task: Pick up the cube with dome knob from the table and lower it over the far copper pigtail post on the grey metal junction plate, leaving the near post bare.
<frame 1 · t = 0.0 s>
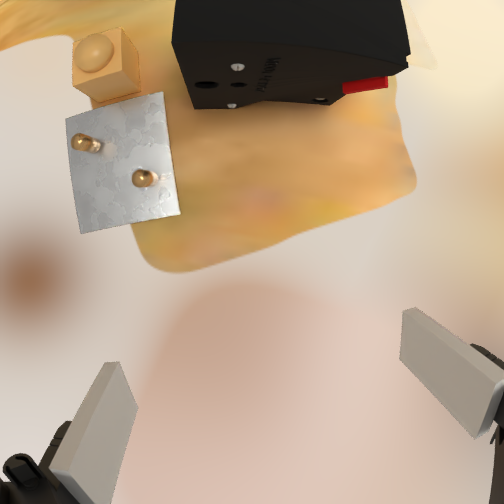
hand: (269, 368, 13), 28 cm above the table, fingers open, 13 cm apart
cube with dome knob: (118, 77, 34), on the table
junction plate: (119, 162, 36), on the table
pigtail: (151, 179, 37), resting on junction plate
electrical component: (263, 78, 36), on the table
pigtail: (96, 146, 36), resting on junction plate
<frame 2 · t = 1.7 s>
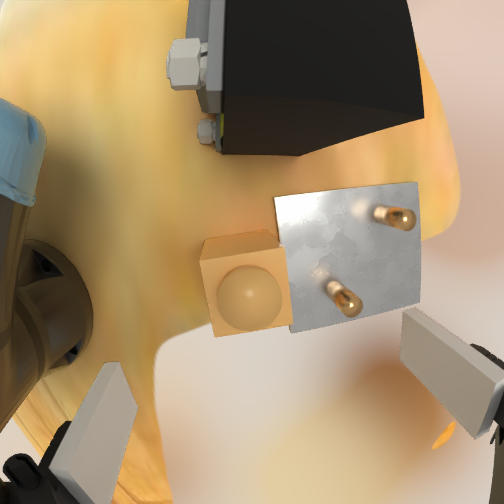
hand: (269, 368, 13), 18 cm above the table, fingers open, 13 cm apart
cube with dome knob: (240, 264, 31), on the table
junction plate: (356, 254, 32), on the table
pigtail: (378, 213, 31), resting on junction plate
electrical component: (253, 70, 27), on the table
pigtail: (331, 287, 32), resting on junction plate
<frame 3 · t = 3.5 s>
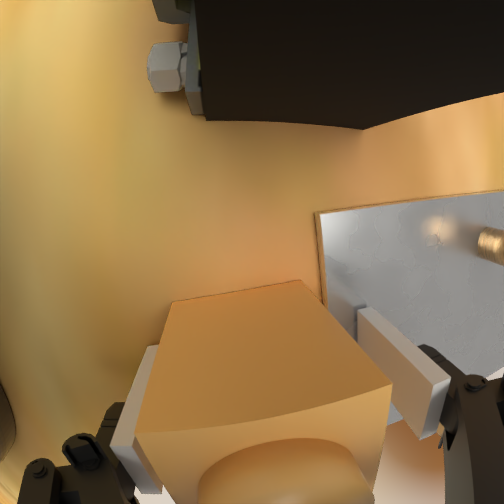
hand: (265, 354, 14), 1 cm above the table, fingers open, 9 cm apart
cube with dome knob: (246, 347, 15), on the table
junction plate: (443, 312, 16), on the table
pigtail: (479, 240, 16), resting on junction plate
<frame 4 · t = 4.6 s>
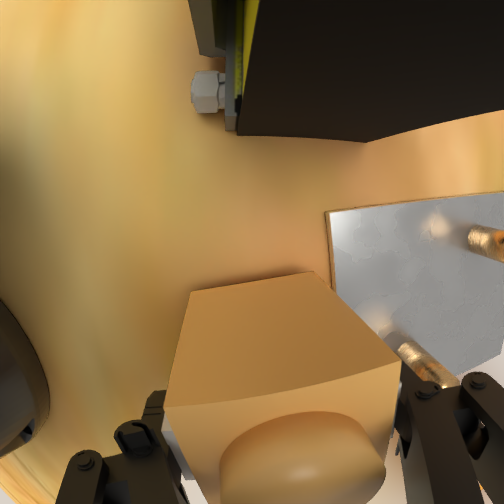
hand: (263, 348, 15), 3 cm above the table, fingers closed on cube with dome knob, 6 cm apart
cube with dome knob: (261, 336, 16), point 2 cm above the table, touching gripper
junction plate: (438, 299, 19), on the table
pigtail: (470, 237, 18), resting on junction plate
electrical component: (286, 7, 14), on the table
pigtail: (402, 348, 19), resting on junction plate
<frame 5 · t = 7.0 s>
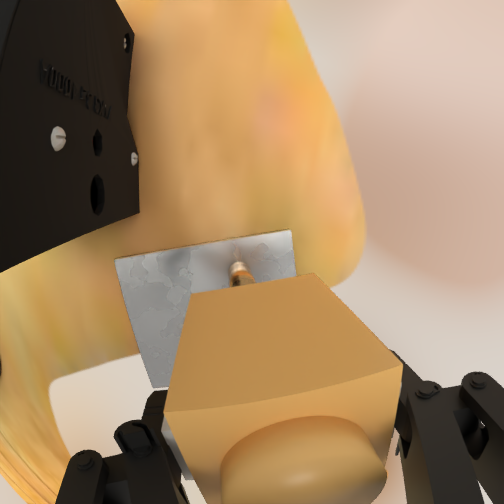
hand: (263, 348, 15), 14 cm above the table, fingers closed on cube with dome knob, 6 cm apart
cube with dome knob: (261, 338, 16), point 13 cm above the table, touching gripper
junction plate: (214, 315, 29), on the table
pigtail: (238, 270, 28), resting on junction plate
electrical component: (96, 121, 24), on the table
when the fingers open (2 cm above the table, at t = 9.2 s): cube with dome knob stays where it is, resting on junction plate.
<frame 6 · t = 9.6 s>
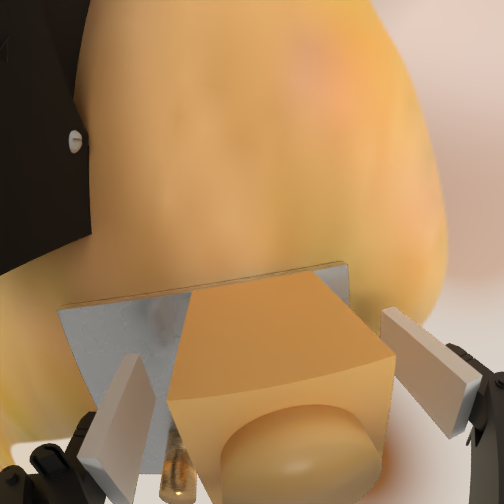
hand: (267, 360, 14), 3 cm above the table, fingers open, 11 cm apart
cube with dome knob: (260, 334, 16), point 1 cm above the table, touching junction plate
junction plate: (218, 393, 18), on the table
electrical component: (32, 89, 13), on the table
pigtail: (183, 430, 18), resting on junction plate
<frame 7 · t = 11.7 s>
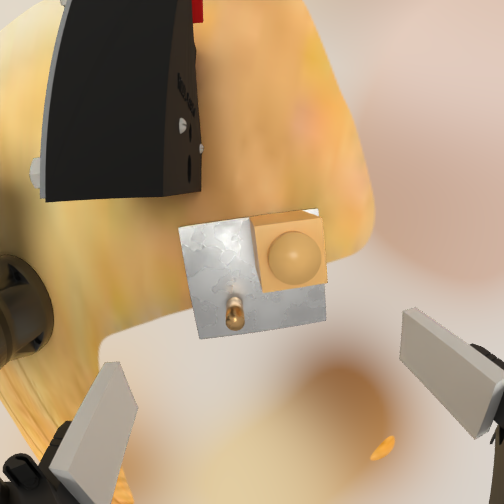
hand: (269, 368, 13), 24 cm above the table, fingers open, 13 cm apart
cube with dome knob: (278, 239, 36), point 1 cm above the table, touching junction plate
junction plate: (256, 275, 37), on the table
electrical component: (165, 117, 33), on the table
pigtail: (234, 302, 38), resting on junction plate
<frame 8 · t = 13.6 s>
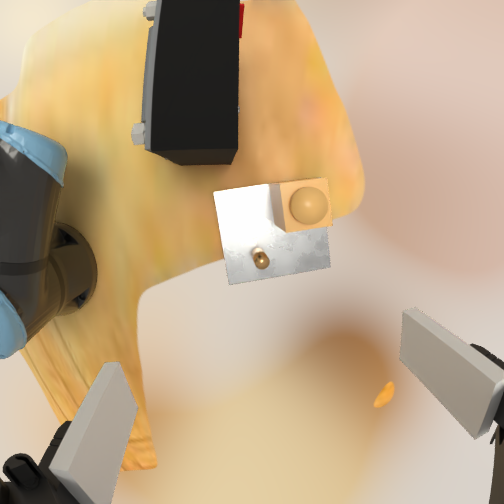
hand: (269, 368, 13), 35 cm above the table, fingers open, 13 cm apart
cube with dome knob: (291, 201, 46), point 1 cm above the table, touching junction plate
junction plate: (274, 230, 47), on the table
electrical component: (201, 107, 42), on the table
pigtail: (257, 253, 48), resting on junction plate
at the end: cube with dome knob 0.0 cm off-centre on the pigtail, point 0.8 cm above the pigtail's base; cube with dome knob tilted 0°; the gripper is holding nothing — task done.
